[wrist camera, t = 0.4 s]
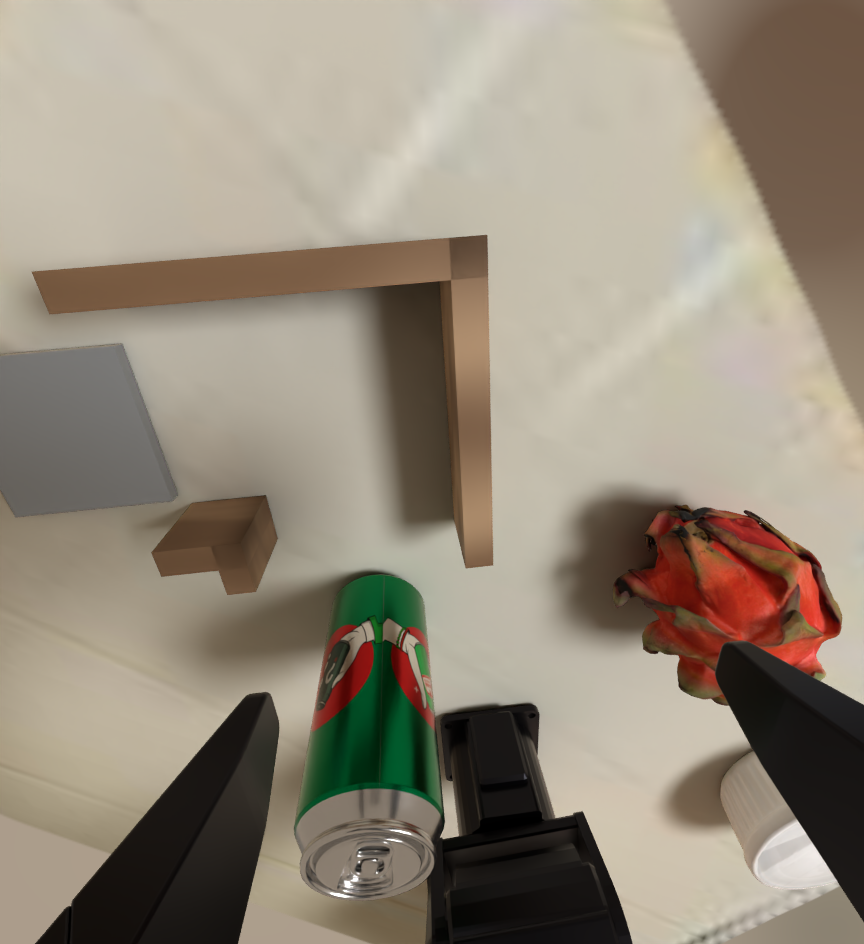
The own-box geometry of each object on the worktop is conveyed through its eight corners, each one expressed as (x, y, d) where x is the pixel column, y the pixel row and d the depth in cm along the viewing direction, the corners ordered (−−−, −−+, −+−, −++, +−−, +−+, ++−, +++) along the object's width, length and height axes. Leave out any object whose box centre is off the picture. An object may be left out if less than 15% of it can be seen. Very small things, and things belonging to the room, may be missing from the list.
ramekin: (737, 726, 33) (796, 806, 28) (870, 725, 34) (948, 801, 29) (685, 814, 37) (727, 894, 33) (803, 810, 39) (861, 887, 34)
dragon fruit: (681, 617, 29) (610, 469, 26) (855, 620, 24) (791, 430, 20) (661, 738, 24) (567, 567, 20) (885, 782, 18) (802, 552, 15)
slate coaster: (178, 495, 21) (172, 501, 20) (25, 510, 21) (15, 517, 20) (122, 343, 18) (113, 346, 17) (-58, 359, 18) (-72, 362, 17)
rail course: (477, 517, 23) (493, 565, 19) (207, 546, 22) (172, 601, 19) (467, 240, 17) (487, 234, 14) (108, 269, 17) (31, 271, 13)
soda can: (329, 634, 26) (284, 909, 15) (336, 563, 23) (289, 822, 13) (416, 640, 26) (434, 906, 15) (431, 571, 24) (462, 823, 13)
